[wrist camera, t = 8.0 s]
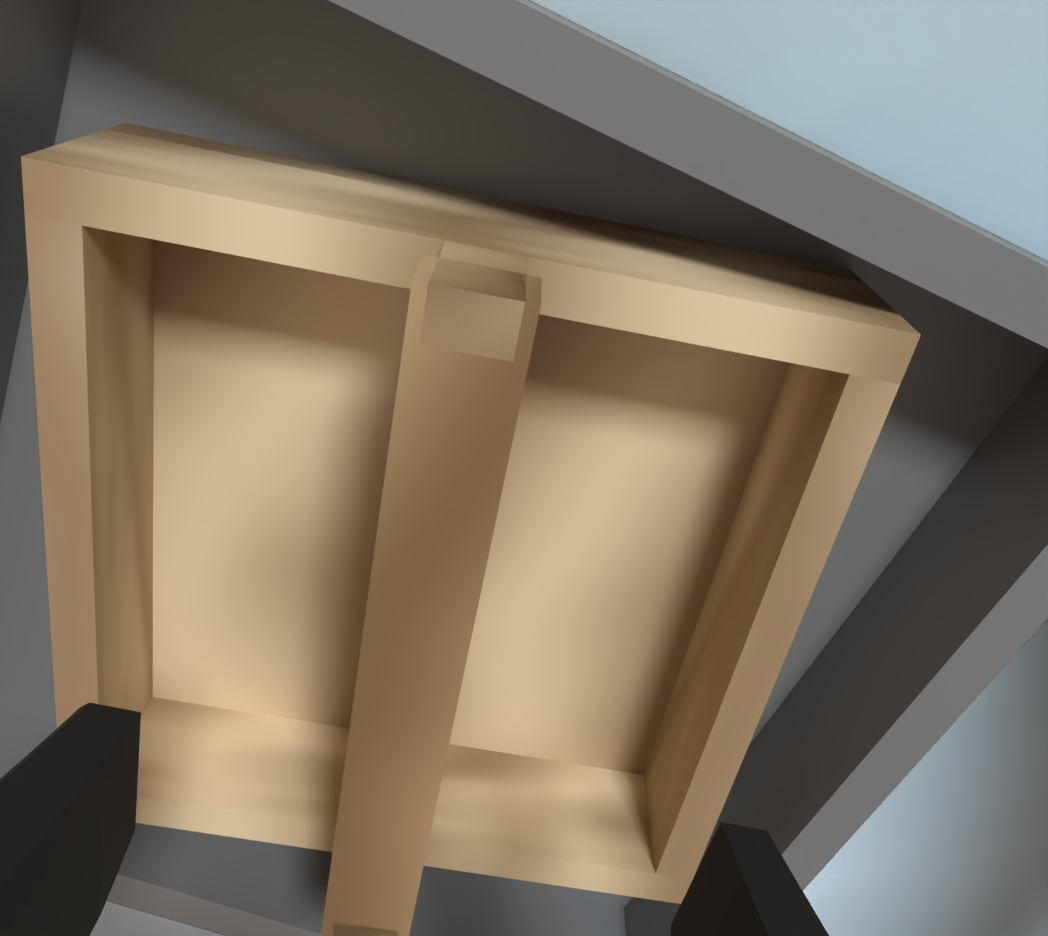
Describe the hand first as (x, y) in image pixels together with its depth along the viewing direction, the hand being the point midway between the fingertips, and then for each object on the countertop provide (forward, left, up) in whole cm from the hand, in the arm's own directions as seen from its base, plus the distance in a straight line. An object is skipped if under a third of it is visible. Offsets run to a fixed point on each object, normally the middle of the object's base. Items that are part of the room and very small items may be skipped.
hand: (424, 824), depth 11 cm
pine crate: (0, +1, -9) cm, 9 cm away
